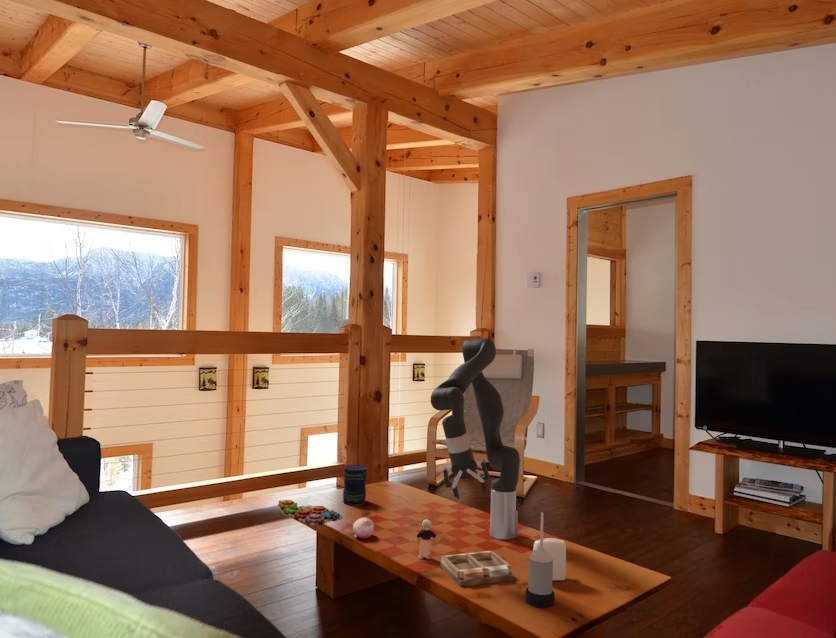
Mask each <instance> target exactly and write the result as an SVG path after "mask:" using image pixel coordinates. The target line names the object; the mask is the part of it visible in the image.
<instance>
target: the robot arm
mask: <svg viewBox="0 0 836 638" xmlns="http://www.w3.org/2000/svg"><path fill="white" fill-rule="evenodd" d="M461 350H462V351H461V352H462V356H463V357H462V358H463V361H464V363H462V364H461V365H459V366H458V367H456V368H455V369H454V371H452V373H451V374H450V375H449V377H448V379H446V380H445V381H443V382H442V383H440V384H439V385H438V386H437V387H435V388H434V389H433V391H432V392H431V395H430V404H431V406H432V408H434V409H435V410H436V411H439V412H440V411H442V412H443V411H448V410H450V411H451V415H448V416H446V417H444V418H443V419H442V421H441V425H442V430H443V433H444V436H445V437H444V438H445V443H446V450H447V451H448V455H449V460H450V463H451V467H443V469H442V470H443V472H442V473H443V478H444V484H445V488H451V489H452V492H453V496H454V498H456V499H457V500H459V499H460V493H459V489H458V486H457V485H458V483H459V481H460V479H461V480H466V479H471V478H472V477H473V478H474V479H476V480H477V481H479V482H480V488H481V491H482V494H483V495H484V494H486V492H487V484H486V481H487V480H490V474H489V470H488V467H487V464H486V461H485V459H481V460H480V461H477V462H476V460H475V457H474V453H473V450H472V449H473V448H472V446H471V445H472V444H471V441H470V437H469V435H468V432H467V428H466V424H465V423H466V422H465V418H464V416H465V415H464V414H465V413H464V412H465V411H464V409H465V408H464V407H465V397H464V394H465V393H466V391H467V389H468V388H469V387H470V386H471V385H472V388H473V394H474V398H475V402H476V403H475V404H476V408H477V411H478V414H479V415H478V416H479V418H480V424H481V427H482V432H483V438H484V444H485V452H486V459H487V462H488V464H489V466H490V467H491V468H492V469H494V470H498V471H500V472H499V473H500V474H499V478H495V479H493V480H491V483H490V513H489V514H490V517H489V519H490V522H489V535H490V537H491V538H494V539H497V540H512V539H514V538H518V517H519V516H518V515H519V513H518V511H517V510H516V506H517V485H518V484H519V480H520V464H521V460H520V459H521V458H520V453H519V451H518V449H516V448H515V447H512V446H508V445H505V444H504V443H503V441H502V437H501V433H500V432H501V431H500V430H501V426H502V422H503V420H504V416H505V411H504V406H503V401H502V396H501V394H500V392H499V391H498V389H497V388H496V387H495V385H493V384H492V383H491V381H489V380H488V378H487V377H486V376H485V374H484V373H483V371H484V370H485V369H486V368H487V367H488V366H490V365H491V364H492V363H493V361H494V360H495V358H496V356H497V349H496V345H495V342H494V341H493V340H492V339H491V338H488V337H486V338H474V339H473V338H472V339H467V340H464V341H463V343H462V349H461ZM478 467H479V469H481V470H482V472H483V475H482V474H481V473H480V472H479V471H478V470H477V468H478ZM451 473H453V474H454V478H453V480H452V481H451V480H450V477H449V476H450V475H451Z"/></svg>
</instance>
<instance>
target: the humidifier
mask: <svg viewBox="0 0 836 638" xmlns="http://www.w3.org/2000/svg"><path fill="white" fill-rule="evenodd" d="M539 525H540V527H539V528H540V529H539V540H540V547H539V548H538V549H536V550H534V551H532V552H531V553H529V557H528V578H527V579H528V580H527V581H528V582H527V583H528V585H527V587H526V588H525V597H524V598H525V602H526V604H527V605H528V606H531V607H535V608H537V609H539V608H540V609H548V608H551V607H553V606H554V605H555V591H554V590H553V580H552V578H553V558H552V556H551V555H550V553H549V552H548V551H546V550H544V548H543V539H544V512H540V524H539Z"/></svg>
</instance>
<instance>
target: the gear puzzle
mask: <svg viewBox="0 0 836 638" xmlns="http://www.w3.org/2000/svg"><path fill="white" fill-rule="evenodd" d="M277 507H279V508H280V509H283V510H282V511H281V514H283V515H286V514H287V516H288V517H292V518H293V519H297V520H298V521H300V522H302V523H305V524H307V523H308V525H310V526H312V527H314V526H318V525H319V524H321V523H322V524H326V523H328V522H329V521H330V522H332V521H333V522H334V520H339V519H340V518H341V519H342V518H343V517H342V514H341V513H338V511H335V510H334V509H330V510H329V508H327V507H325V506H324V505H311V504H309V505H308V504H307V505H299V506H298V502H295V501H294V500H292V499H285V500H282V501H281V502H280V501H279V502H278V504H277Z"/></svg>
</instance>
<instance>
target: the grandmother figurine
mask: <svg viewBox="0 0 836 638" xmlns="http://www.w3.org/2000/svg"><path fill="white" fill-rule="evenodd" d="M421 525H422V528H423V529H421V530H420V531H418V533H417V534H416V535H415V536H416V537H415V539H414V542H415V543H417V542H418V541H419V539H420V542H419V549H418V550H419V553H418V556H417V559H418V560H424V559H426V560H431V559H432V556H431V552H432V538H433V539H434V542H438V541H439V539H438V537H437V533H435V532H434V531H433V530H431V528H432V527H433V524H432V521H430V519H429V520H428V519H427V518H426V519H423V521H422V523H421Z"/></svg>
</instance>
